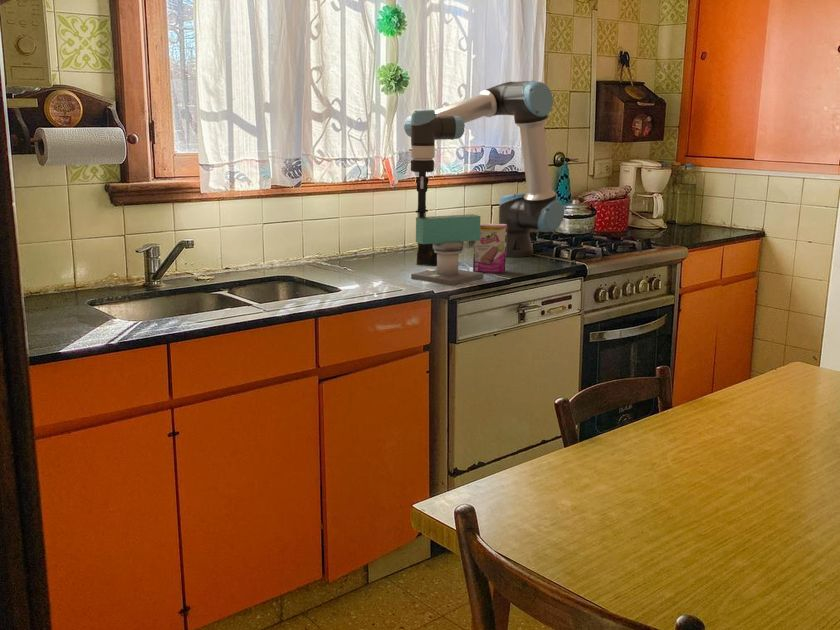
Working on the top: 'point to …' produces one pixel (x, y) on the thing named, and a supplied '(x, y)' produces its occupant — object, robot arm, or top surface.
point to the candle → (426, 255)
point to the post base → (448, 279)
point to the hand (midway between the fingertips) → (421, 232)
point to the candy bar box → (490, 249)
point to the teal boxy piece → (447, 231)
